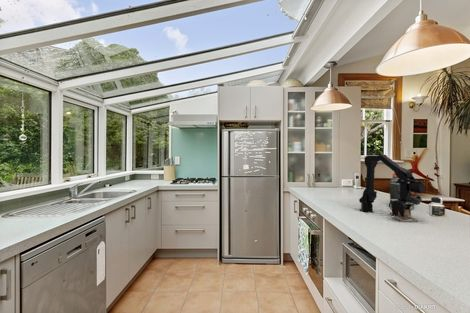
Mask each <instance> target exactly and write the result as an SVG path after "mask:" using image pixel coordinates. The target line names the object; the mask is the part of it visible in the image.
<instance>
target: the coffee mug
mask: <svg viewBox="0 0 470 313" xmlns="http://www.w3.org/2000/svg"><path fill="white" fill-rule="evenodd" d="M394 200H398V199H391V203H390V202H389V203H388V208H389V209H390V210H391V214H392V216H394V215H395V216H394V217H398V209H397V207H396V206H395V205H392V202H393V201H394ZM390 204H391V206H390Z"/></svg>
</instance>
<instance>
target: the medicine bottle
mask: <svg viewBox="0 0 470 313" xmlns="http://www.w3.org/2000/svg"><path fill="white" fill-rule="evenodd" d="M428 214H429V215H430V216H431V217H441V218H445V217H446V206H445V205H444V202H443V198H442V197H437V196H433V197H431V198H430V203H428Z"/></svg>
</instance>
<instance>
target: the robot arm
mask: <svg viewBox="0 0 470 313" xmlns="http://www.w3.org/2000/svg"><path fill="white" fill-rule="evenodd" d="M378 162H382V164H384V165H385V166H387V167H388V168H389V169H390V170H392V171H393V172H394V173H395V174H396V176H397V177H398V178H399V180H398V181H396V183H399V192H398V194H399V199H398V200H394V201H393V202H392V205H395V206H396V207H397V209H398V211H399V213H400V215H401V216H402V217H403V216H404V210H405V209H408V210H410V208H411V207H412V206H413V205H414V206H415V205H416V206H418V205H420V204H421V203H422V201H423V200H422V196H420V195H417V196H412V193H410V191H411V192H415V193H416V194H417V193H419V194H424V193H425V191H426V185H425V184H424V182H423V181H422V180H420V181H419V180H416V178H415V177H414V175H413V172H412V171H411V170H409V169H407V168H405V167H402V166H400V165H399V164H398V163H396V162H395V161H394V160H392V159H391V158H390V157H388V156H387V155H386V154H377V155H376V154H375V155H373V154H372V155H371V154H368V155H366V156H365V157H364V165H365V167H366V174H365V175H366V177H365V189H364V190H363V193H362V196H361V197H360V198H359V199H358V201H359V203H360V209H359V210H360V211H361V212H363V213H374V211H373V210H374V209H373V208H374V206H373V204H374V202H375V200H376V199H377V196H378V195H377V194H378V192H377V191H375V188H374V187H375V170H376V169H375V168H376V166H378ZM409 179H410V180H409ZM408 182H409V183H408ZM412 203H414V204H412Z"/></svg>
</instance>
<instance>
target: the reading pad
mask: <svg viewBox="0 0 470 313" xmlns="http://www.w3.org/2000/svg"><path fill="white" fill-rule="evenodd" d="M391 219H393V220H396V221H397V220H398V221H397V222H399V223H400V222H401V223H419V221H418V220H416V219H413V218H412V217H411V218H409V219H404V218H399V217H398V216H392V217H391Z"/></svg>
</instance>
